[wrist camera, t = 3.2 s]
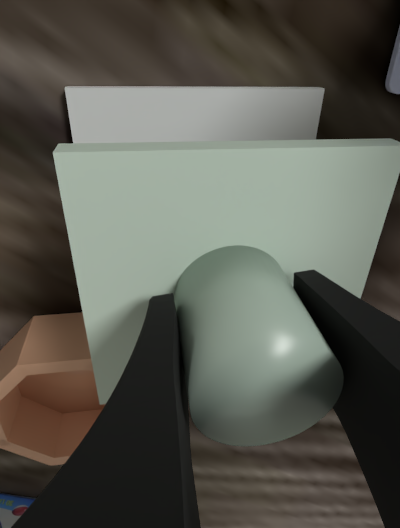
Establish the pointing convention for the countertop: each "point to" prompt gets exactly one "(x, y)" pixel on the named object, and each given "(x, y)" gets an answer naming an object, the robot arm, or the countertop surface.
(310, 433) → the countertop surface
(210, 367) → the lid
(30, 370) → the bowl
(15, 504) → the medicine box
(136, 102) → the mat
